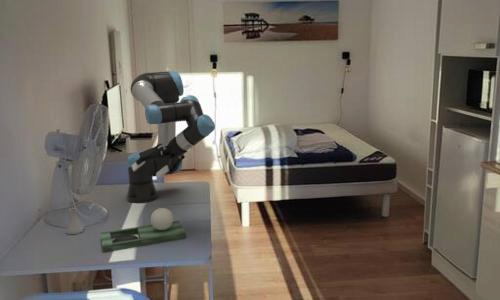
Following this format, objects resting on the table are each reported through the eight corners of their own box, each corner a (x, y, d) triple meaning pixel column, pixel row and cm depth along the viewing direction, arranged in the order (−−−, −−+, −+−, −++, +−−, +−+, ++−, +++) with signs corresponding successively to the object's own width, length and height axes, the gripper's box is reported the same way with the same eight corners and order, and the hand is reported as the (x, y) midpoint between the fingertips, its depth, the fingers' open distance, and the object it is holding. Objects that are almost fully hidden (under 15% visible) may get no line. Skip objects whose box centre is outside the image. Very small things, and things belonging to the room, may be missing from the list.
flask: (78, 235, 198) (75, 212, 195) (62, 234, 199) (59, 212, 197) (87, 228, 205) (85, 206, 202) (72, 227, 206) (69, 206, 204)
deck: (101, 238, 194) (100, 232, 193) (179, 225, 204) (178, 220, 204) (103, 252, 181) (102, 246, 181) (186, 238, 191) (185, 232, 191)
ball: (150, 227, 197) (148, 206, 195) (171, 223, 200) (170, 203, 198) (153, 235, 189) (151, 214, 187) (175, 231, 192) (174, 210, 190)
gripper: (161, 141, 177) (124, 172, 185) (204, 159, 197) (168, 186, 204) (157, 126, 181) (120, 157, 189) (199, 145, 201) (164, 172, 208)
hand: (145, 172), depth 196 cm, fingers open, 13 cm apart
